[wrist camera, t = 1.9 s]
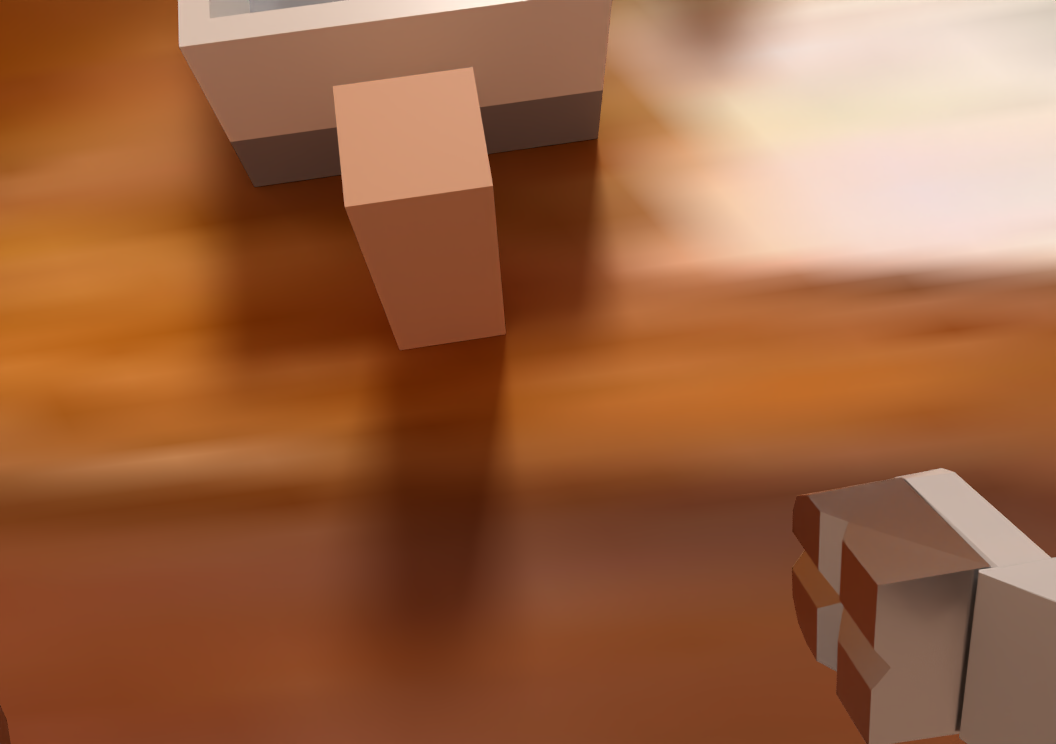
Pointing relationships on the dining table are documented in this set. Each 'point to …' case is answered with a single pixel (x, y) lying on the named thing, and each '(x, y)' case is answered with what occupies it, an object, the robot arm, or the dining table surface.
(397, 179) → the peg
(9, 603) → the dining table surface
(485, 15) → the socket box
